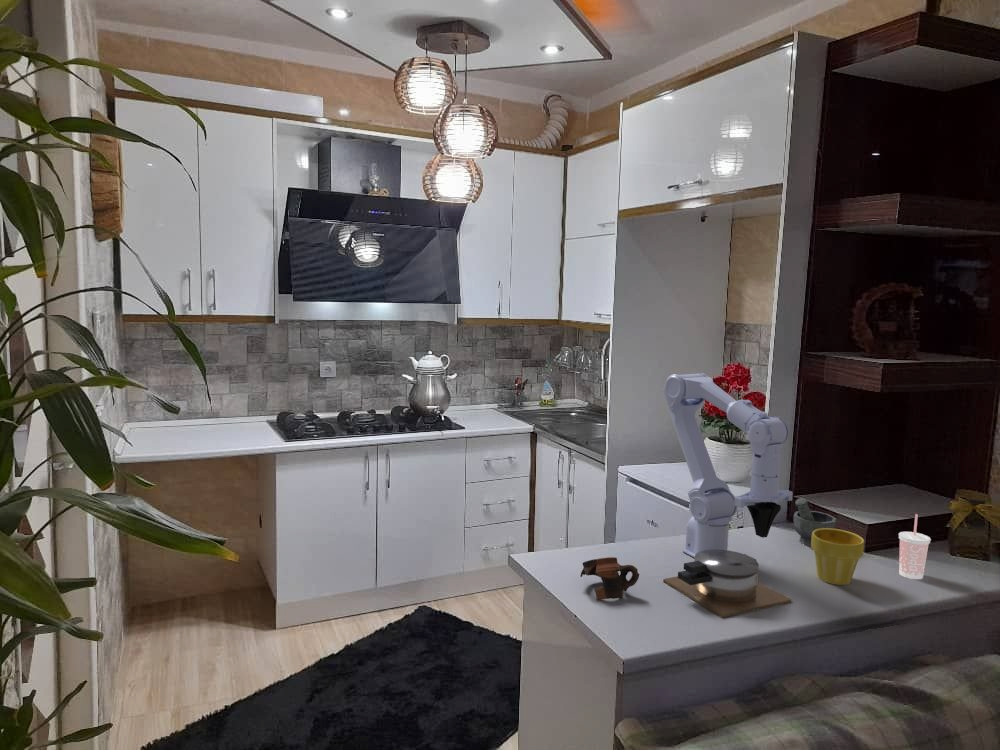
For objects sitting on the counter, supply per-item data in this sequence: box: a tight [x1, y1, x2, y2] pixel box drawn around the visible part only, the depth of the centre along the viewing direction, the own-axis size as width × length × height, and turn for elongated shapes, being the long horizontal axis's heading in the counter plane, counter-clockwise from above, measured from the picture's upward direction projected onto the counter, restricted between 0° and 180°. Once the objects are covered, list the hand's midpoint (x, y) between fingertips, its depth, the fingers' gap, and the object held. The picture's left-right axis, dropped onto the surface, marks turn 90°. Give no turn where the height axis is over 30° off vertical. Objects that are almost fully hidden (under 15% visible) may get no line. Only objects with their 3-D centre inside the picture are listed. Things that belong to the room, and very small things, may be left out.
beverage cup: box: [898, 513, 932, 580], centre depth 156 cm, size 6×6×14 cm
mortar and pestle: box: [792, 497, 837, 547], centre depth 174 cm, size 11×9×12 cm
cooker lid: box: [683, 549, 760, 577], centre depth 144 cm, size 17×13×1 cm
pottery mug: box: [579, 556, 640, 601], centre depth 145 cm, size 12×10×8 cm
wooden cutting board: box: [662, 570, 793, 619], centre depth 145 cm, size 18×20×5 cm
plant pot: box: [810, 528, 865, 586], centre depth 153 cm, size 10×10×10 cm
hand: (761, 535), depth 151 cm, fingers closed
